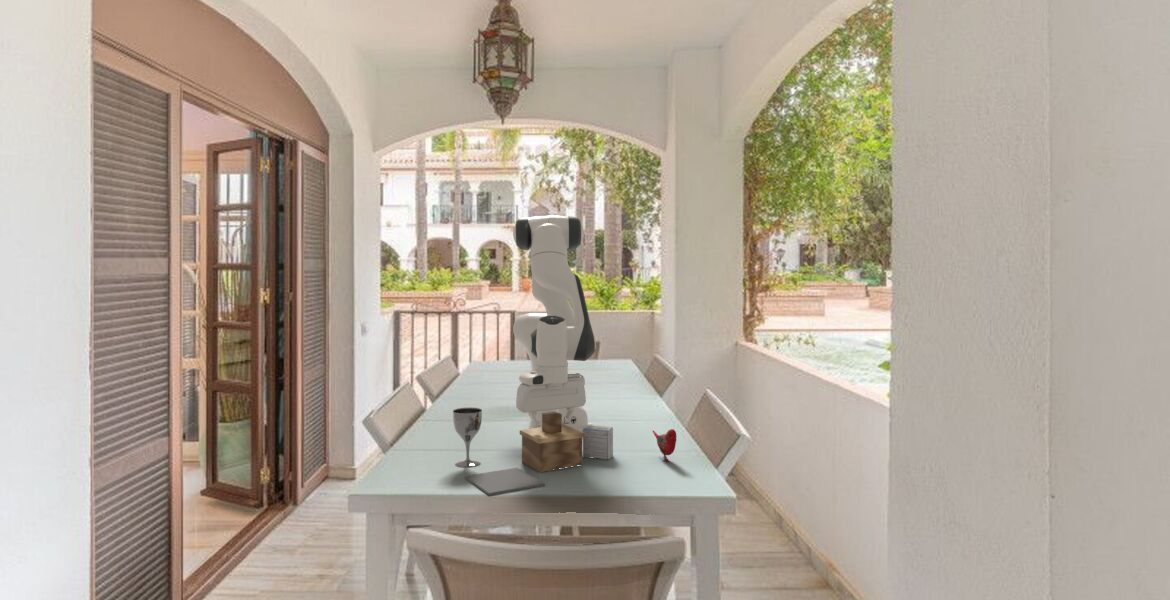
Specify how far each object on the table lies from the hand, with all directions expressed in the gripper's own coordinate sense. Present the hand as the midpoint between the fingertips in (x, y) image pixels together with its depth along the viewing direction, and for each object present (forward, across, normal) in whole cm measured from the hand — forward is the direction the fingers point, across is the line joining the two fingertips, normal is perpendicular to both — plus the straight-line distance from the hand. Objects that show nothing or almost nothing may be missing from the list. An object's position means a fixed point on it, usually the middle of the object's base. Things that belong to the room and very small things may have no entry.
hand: (551, 425), depth 199 cm
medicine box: (+11, -15, 0) cm, 19 cm away
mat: (+11, +18, +8) cm, 22 cm away
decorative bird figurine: (+11, -30, +11) cm, 34 cm away
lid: (+3, 0, 0) cm, 3 cm away
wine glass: (+11, +20, -12) cm, 26 cm away
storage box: (+11, 0, 0) cm, 11 cm away
